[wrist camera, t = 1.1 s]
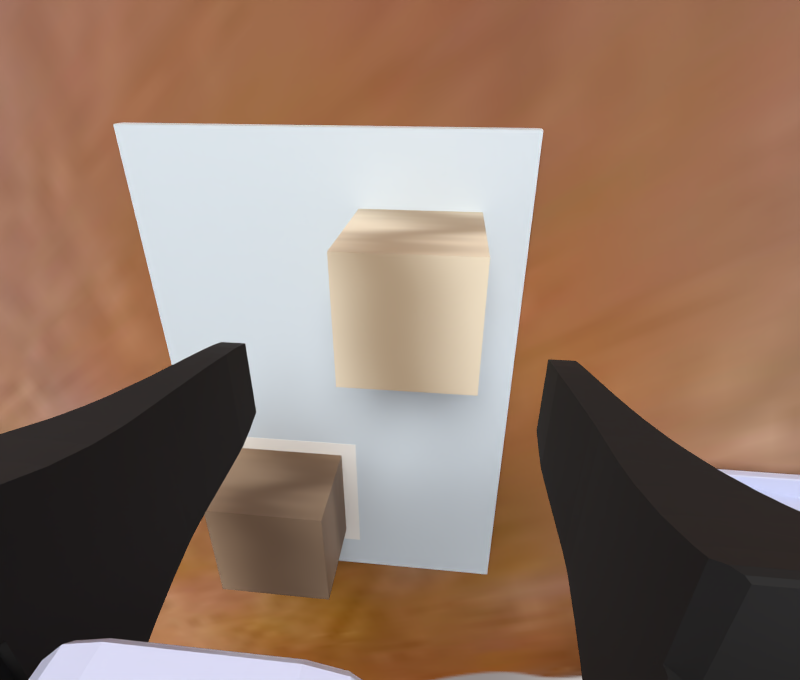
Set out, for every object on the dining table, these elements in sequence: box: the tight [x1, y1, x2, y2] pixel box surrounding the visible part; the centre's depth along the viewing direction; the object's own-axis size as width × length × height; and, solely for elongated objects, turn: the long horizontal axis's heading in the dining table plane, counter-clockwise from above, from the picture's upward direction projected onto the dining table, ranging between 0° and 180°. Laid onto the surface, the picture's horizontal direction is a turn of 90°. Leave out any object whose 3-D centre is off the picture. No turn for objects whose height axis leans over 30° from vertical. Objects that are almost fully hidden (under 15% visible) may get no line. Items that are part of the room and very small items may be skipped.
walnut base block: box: [205, 448, 346, 599], centre depth 24 cm, size 5×5×4 cm
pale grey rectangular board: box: [113, 123, 543, 574], centre depth 23 cm, size 15×22×1 cm
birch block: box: [327, 209, 490, 396], centre depth 17 cm, size 4×4×5 cm
